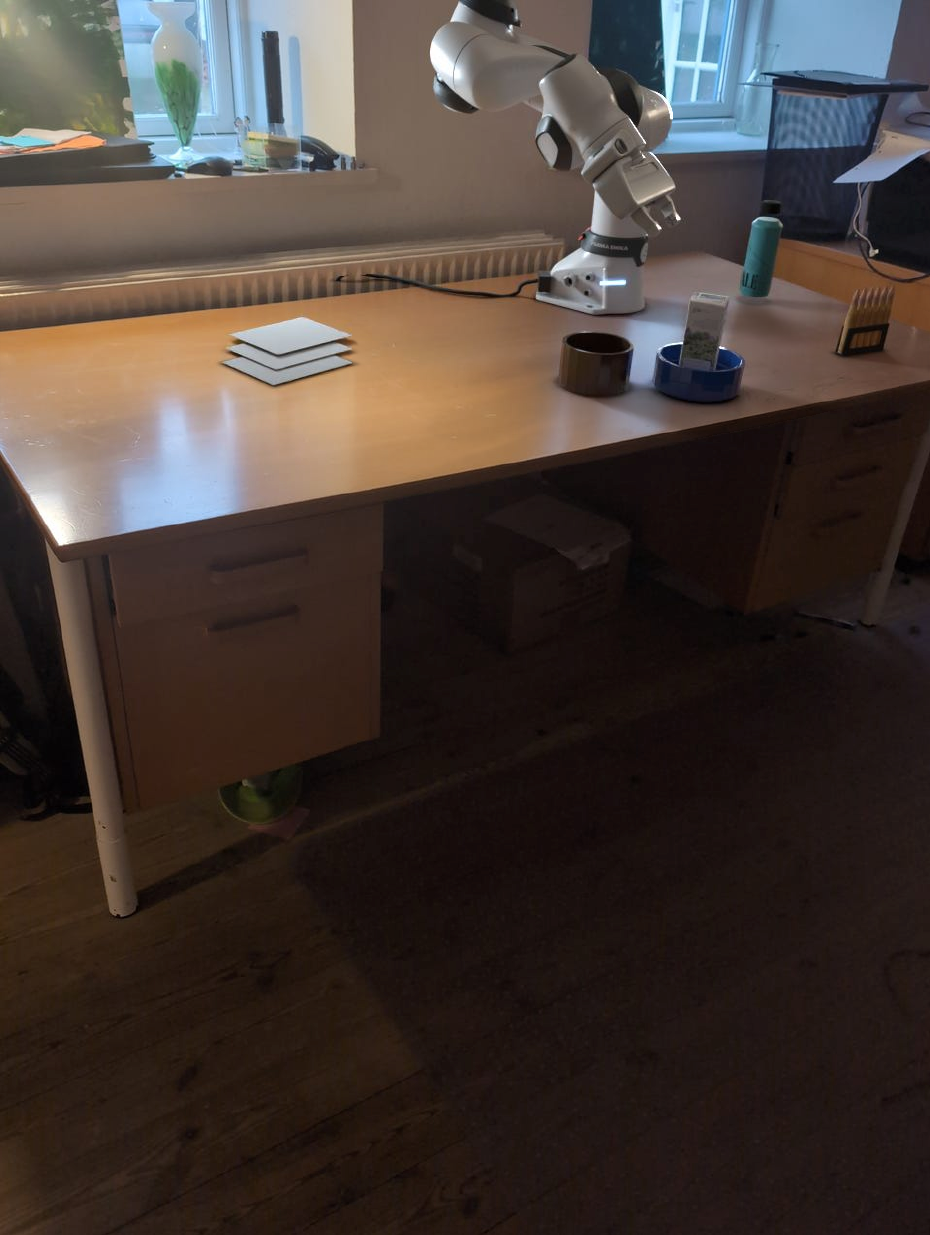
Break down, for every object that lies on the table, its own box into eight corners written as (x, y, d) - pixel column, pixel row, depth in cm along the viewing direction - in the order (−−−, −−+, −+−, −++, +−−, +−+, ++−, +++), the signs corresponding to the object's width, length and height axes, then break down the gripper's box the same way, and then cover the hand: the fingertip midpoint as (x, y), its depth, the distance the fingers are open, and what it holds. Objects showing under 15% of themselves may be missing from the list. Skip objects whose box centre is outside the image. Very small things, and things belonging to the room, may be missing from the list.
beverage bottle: (770, 299, 216) (791, 200, 205) (764, 306, 211) (785, 205, 200) (740, 294, 218) (759, 196, 207) (733, 301, 213) (752, 201, 202)
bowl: (640, 392, 165) (644, 359, 162) (667, 368, 175) (672, 337, 172) (724, 411, 159) (731, 377, 156) (748, 385, 170) (754, 353, 167)
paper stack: (388, 352, 175) (388, 348, 175) (273, 385, 159) (273, 381, 159) (303, 320, 188) (302, 316, 188) (188, 347, 172) (188, 343, 172)
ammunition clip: (841, 356, 186) (858, 290, 179) (834, 353, 187) (850, 287, 180) (883, 350, 190) (901, 285, 183) (875, 347, 191) (893, 282, 185)
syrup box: (714, 382, 169) (730, 294, 161) (709, 393, 164) (725, 304, 156) (680, 376, 170) (694, 289, 162) (674, 388, 166) (689, 299, 158)
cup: (547, 387, 165) (551, 345, 161) (574, 367, 174) (579, 327, 170) (613, 402, 160) (618, 359, 157) (638, 381, 169) (644, 340, 165)
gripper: (624, 159, 166) (671, 230, 168) (576, 176, 150) (629, 254, 152) (654, 133, 162) (702, 206, 163) (608, 147, 146) (661, 228, 148)
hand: (666, 229), depth 158 cm, fingers open, 8 cm apart
